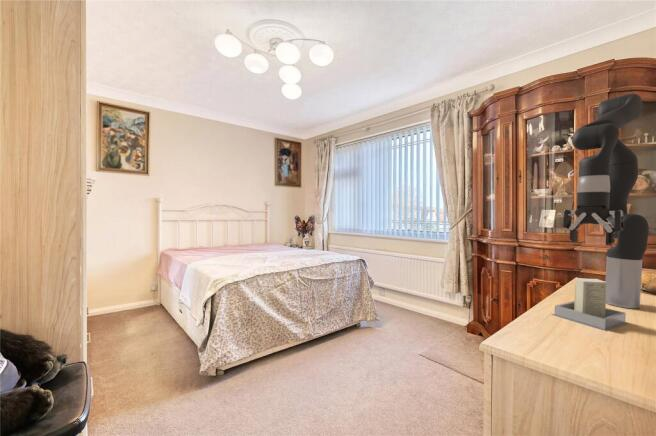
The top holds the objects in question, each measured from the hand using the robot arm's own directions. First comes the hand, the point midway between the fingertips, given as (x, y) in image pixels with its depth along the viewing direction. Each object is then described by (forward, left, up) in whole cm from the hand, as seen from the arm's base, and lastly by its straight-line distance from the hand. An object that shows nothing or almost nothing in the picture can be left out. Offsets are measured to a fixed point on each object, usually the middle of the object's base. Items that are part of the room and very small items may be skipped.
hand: (590, 243), depth 92 cm
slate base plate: (+1, +1, -24) cm, 24 cm away
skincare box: (+1, +1, -24) cm, 24 cm away
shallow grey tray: (+1, +1, -23) cm, 23 cm away
